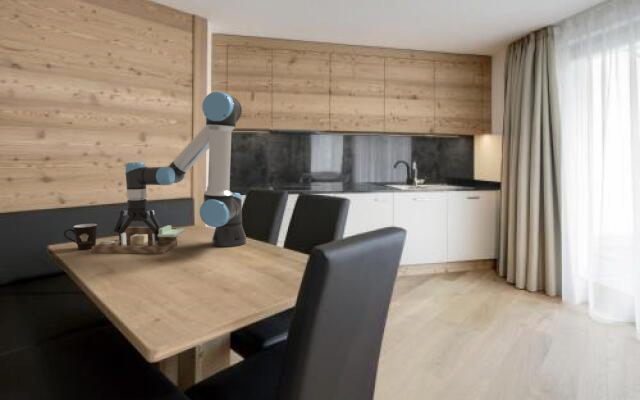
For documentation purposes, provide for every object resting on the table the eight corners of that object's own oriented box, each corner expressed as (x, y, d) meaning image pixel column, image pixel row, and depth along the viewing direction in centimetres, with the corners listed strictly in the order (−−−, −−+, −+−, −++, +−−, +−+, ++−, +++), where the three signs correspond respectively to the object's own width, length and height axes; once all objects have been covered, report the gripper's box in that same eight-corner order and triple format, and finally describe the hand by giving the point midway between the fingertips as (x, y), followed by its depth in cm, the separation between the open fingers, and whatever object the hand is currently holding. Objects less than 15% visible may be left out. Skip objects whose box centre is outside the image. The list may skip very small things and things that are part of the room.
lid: (184, 231, 170) (184, 224, 170) (174, 236, 159) (174, 229, 159) (169, 231, 171) (168, 224, 170) (157, 236, 160) (157, 229, 159)
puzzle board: (177, 245, 173) (176, 227, 172) (163, 253, 159) (162, 233, 158) (111, 244, 174) (110, 226, 173) (92, 252, 160) (90, 233, 159)
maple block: (148, 247, 169) (147, 234, 168) (142, 250, 164) (141, 236, 163) (137, 247, 169) (136, 234, 168) (131, 250, 164) (130, 236, 163)
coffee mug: (102, 246, 172) (101, 223, 170) (89, 251, 163) (87, 227, 162) (78, 245, 173) (76, 223, 172) (63, 250, 164) (61, 227, 163)
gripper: (169, 198, 167) (172, 246, 170) (113, 198, 168) (116, 246, 171) (162, 200, 160) (164, 250, 162) (102, 199, 161) (106, 250, 163)
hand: (139, 248), depth 166 cm, fingers open, 13 cm apart
